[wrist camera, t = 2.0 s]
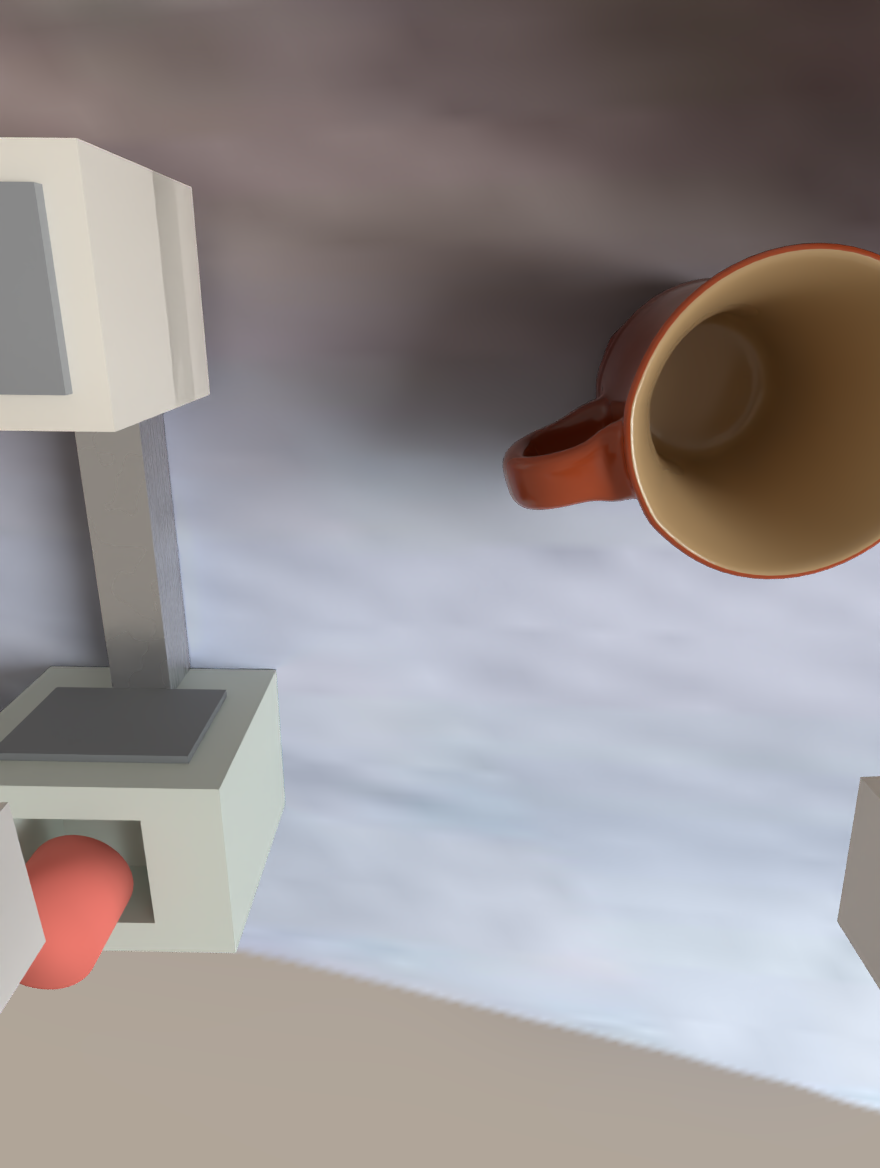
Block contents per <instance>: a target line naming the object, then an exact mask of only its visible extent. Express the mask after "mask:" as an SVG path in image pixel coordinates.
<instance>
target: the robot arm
mask: <svg viewBox="0 0 880 1168" xmlns="http://www.w3.org/2000/svg"><path fill="white" fill-rule="evenodd" d="M837 922H838V923H839V925H840V927H841V928H842V930H843V931H844V933H845V935H846V936H847V938H848V939H849V941H850V943H851V944H852V946H853V947H854V949H855V951H856V952H857V954H858V955H859V957H860V959H861V960H862V962H863V963H864V965H865V967H866V968H867V970H868V971H869V973H870V975H871V976H872V978H873V979H874V981H875V983H876V984H877V986H878V987H879V989H880V776H877V777H861V778H860V784H859V790H858V796H857V802H856V808H855V815H854V821H853V827H852V833H851V839H850V846H849V852H848V858H847V864H846V870H845V877H844V883H843V889H842V895H841V901H840V908H839V914H838V920H837ZM45 942H46V940H45V936H44V933H43V929H42V925H41V921H40V918H39V914H38V910H37V906H36V903H35V899H34V895H33V892H32V888H31V884H30V880H29V877H28V873H27V869H26V866H25V862H24V858H23V854H22V851H21V847H20V843H19V840H18V836H17V832H16V828H15V825H14V821H13V817H12V813H11V810H10V806H9V802H0V1013H1V1012H2V1010H3V1009H4V1007H5V1005H6V1004H7V1002H8V1001H9V999H10V997H11V996H12V994H13V993H14V991H15V990H16V988H17V986H18V985H19V983H20V982H21V980H22V978H23V977H24V975H25V974H26V972H27V971H28V969H29V967H30V966H31V964H32V963H33V961H34V959H35V958H36V956H37V955H38V953H39V952H40V950H41V948H42V947H43V945H44V944H45Z"/></svg>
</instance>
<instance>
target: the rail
mask: <svg viewBox="0 0 880 1168" xmlns="http://www.w3.org/2000/svg"><path fill="white" fill-rule="evenodd" d="M75 438H76V445H77V452H78V458H79V465H80V472H81V479H82V486H83V492H84V499H85V506H86V513H87V519H88V526H89V533H90V540H91V546H92V553H93V560H94V567H95V573H96V580H97V587H98V594H99V601H100V607H101V614H102V621H103V628H104V634H105V641H106V648H107V655H108V661H109V668H110V675H111V682H112V688H150V689H176V688H177V687H178V685H179V684H180V682H181V681H182V680H183V678H184V677H185V675H186V674H187V673H188V671H189V670H190V660H189V651H188V642H187V633H186V623H185V614H184V605H183V596H182V587H181V578H180V568H179V559H178V550H177V541H176V532H175V523H174V513H173V504H172V495H171V486H170V477H169V468H168V458H167V449H166V440H165V431H164V422H163V413H162V414H159V415H157V416H154V417H152V418H149V419H147V420H144V421H142V422H139V423H137V424H134V425H132V426H129V427H126V428H124V429H121V430H119V431H116V432H78V431H75Z"/></svg>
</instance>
